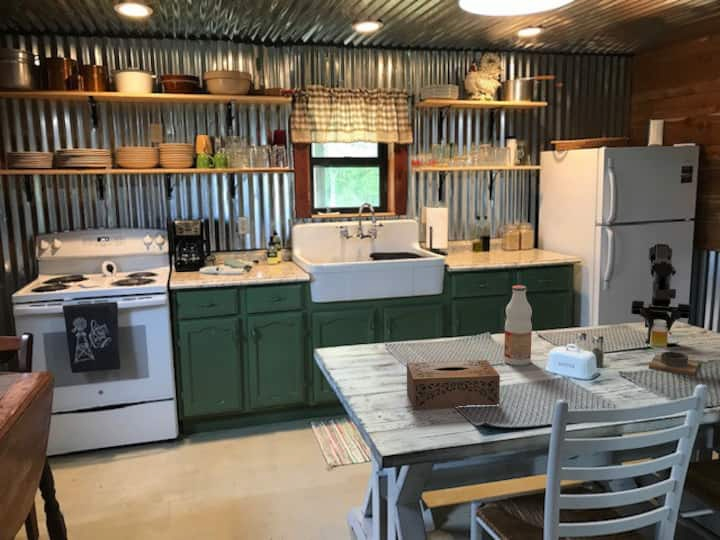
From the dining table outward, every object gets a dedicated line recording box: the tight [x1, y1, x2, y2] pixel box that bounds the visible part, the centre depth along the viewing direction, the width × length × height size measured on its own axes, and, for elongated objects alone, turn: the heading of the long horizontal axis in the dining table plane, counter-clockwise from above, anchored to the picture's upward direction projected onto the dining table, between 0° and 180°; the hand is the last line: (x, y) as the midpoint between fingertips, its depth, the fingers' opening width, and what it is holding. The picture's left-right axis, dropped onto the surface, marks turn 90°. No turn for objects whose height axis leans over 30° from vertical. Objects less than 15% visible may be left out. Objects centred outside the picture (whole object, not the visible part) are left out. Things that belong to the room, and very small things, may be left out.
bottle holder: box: [648, 350, 700, 376], centre depth 210 cm, size 14×14×4 cm
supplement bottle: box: [649, 319, 669, 350], centre depth 209 cm, size 5×5×10 cm
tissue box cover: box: [406, 359, 501, 411], centre depth 184 cm, size 26×14×10 cm, turn 93°
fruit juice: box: [503, 285, 533, 366], centre depth 215 cm, size 9×9×28 cm
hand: (659, 330), depth 208 cm, fingers closed on supplement bottle, 5 cm apart
